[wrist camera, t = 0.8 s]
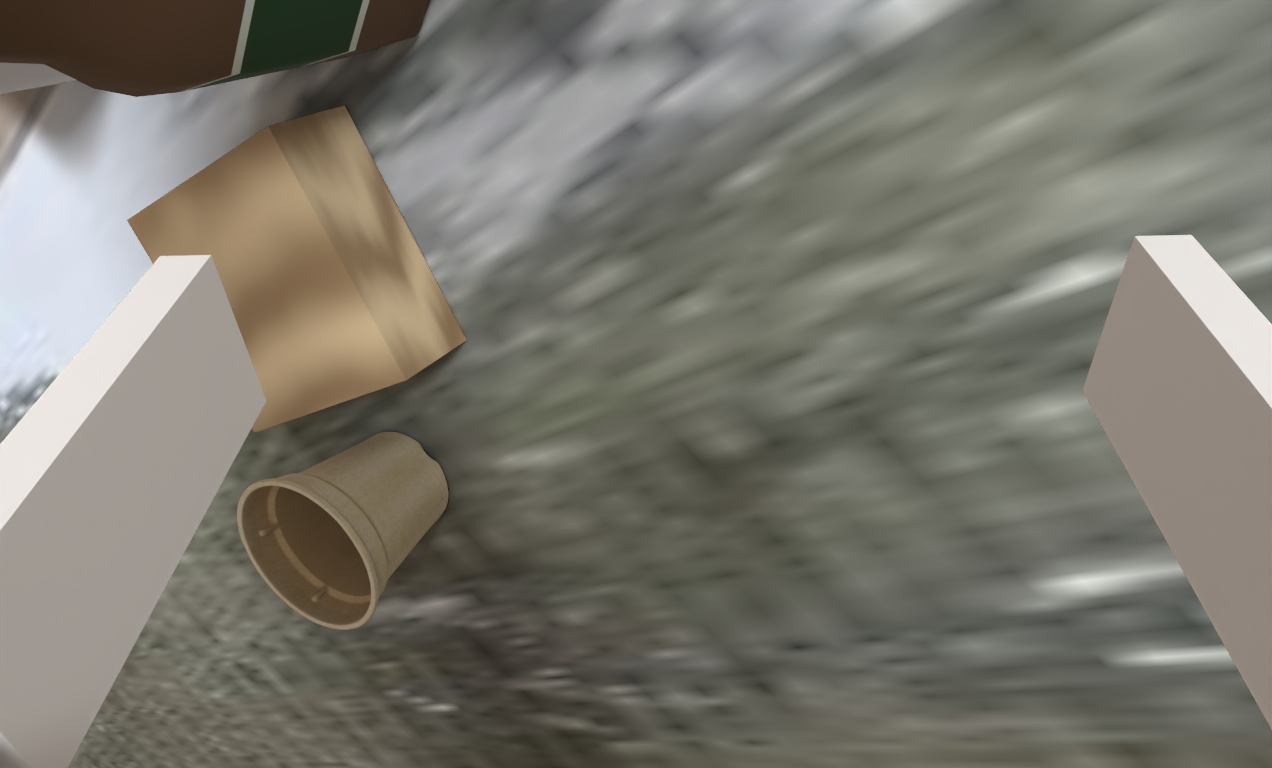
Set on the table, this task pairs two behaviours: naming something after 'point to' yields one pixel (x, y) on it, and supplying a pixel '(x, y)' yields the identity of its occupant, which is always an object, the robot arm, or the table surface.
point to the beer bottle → (194, 38)
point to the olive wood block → (309, 264)
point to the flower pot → (342, 526)
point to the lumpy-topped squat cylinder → (28, 76)
